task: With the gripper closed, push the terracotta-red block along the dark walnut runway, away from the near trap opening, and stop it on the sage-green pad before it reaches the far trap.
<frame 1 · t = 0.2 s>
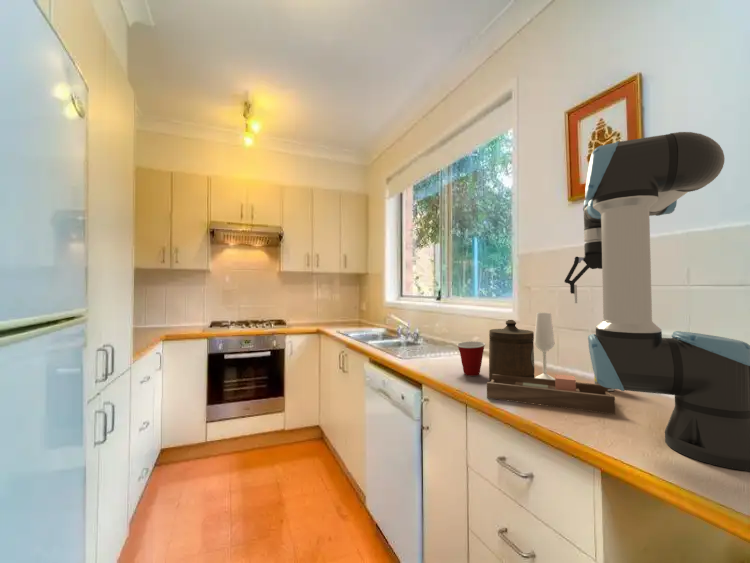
hand: (598, 303, 118), 28 cm above the countertop, tool pointing down, fingers open, 13 cm apart
wooden container: (511, 383, 120), on the countertop
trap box: (546, 399, 102), on the countertop
plastic cup: (471, 374, 133), on the countertop
supplement bottle: (604, 389, 111), on the countertop
block: (565, 391, 100), point 3 cm above the countertop, touching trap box
champagne flute: (544, 379, 125), on the countertop
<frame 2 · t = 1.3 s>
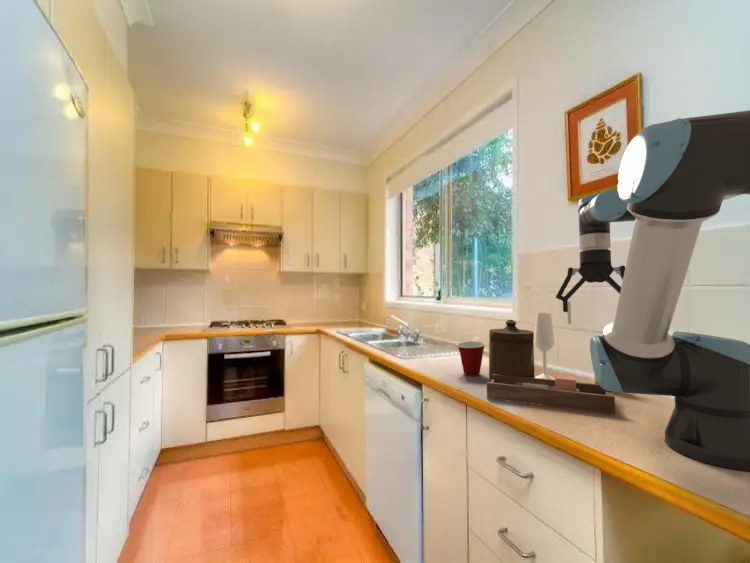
hand: (596, 324, 97), 22 cm above the countertop, tool pointing down, fingers open, 13 cm apart
nothing on the countertop moved.
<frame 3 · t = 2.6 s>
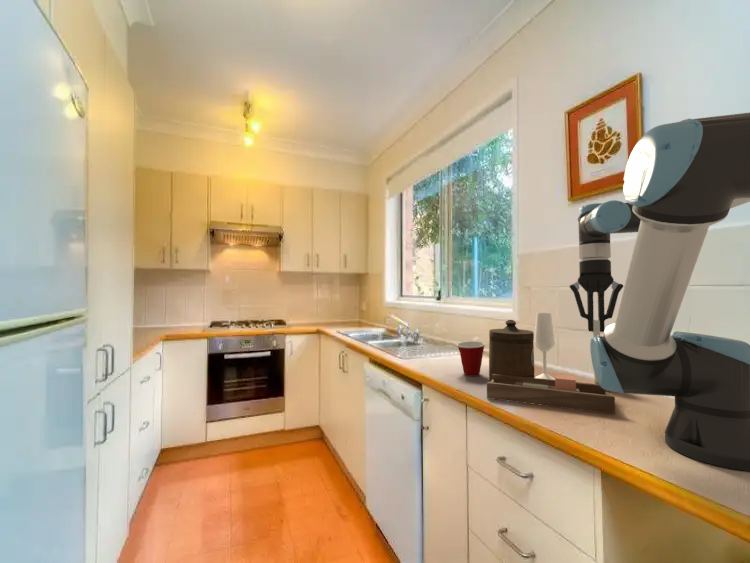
hand: (596, 343, 97), 17 cm above the countertop, tool pointing down, fingers closed
nothing on the countertop moved.
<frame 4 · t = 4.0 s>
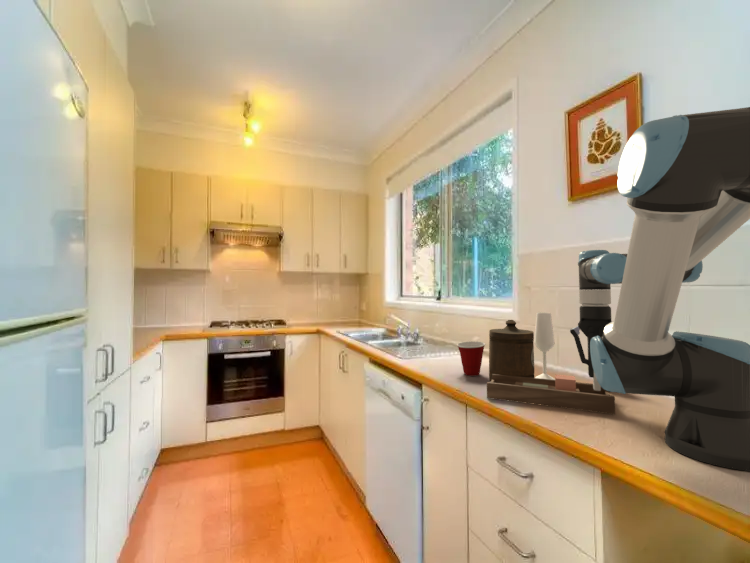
hand: (596, 389, 96), 4 cm above the countertop, tool pointing down, fingers closed
nothing on the countertop moved.
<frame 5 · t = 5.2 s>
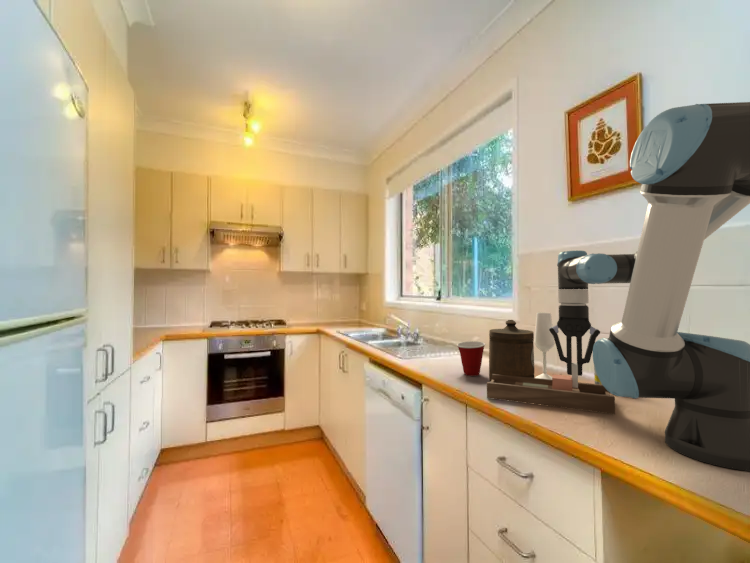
hand: (574, 386, 99), 5 cm above the countertop, tool pointing down, fingers closed
nothing on the countertop moved.
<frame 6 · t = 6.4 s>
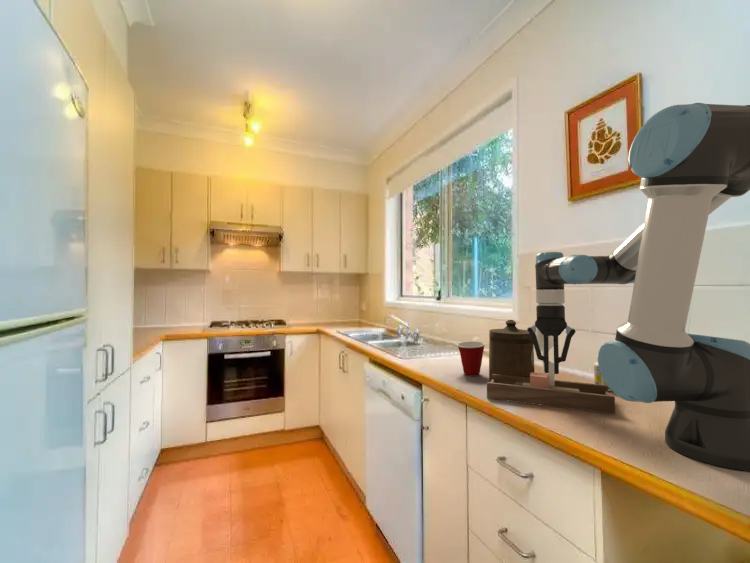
hand: (551, 384, 101), 5 cm above the countertop, tool pointing down, fingers closed
block: (539, 388, 103), point 3 cm above the countertop, touching gripper
everything else where it was.
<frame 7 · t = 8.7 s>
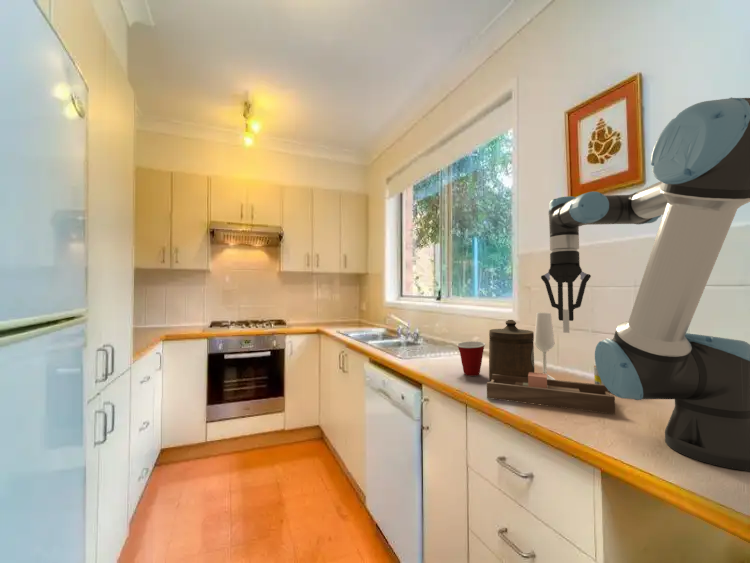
hand: (566, 332, 100), 20 cm above the countertop, tool pointing down, fingers closed
block: (537, 388, 103), point 3 cm above the countertop, touching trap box
everything else where it was.
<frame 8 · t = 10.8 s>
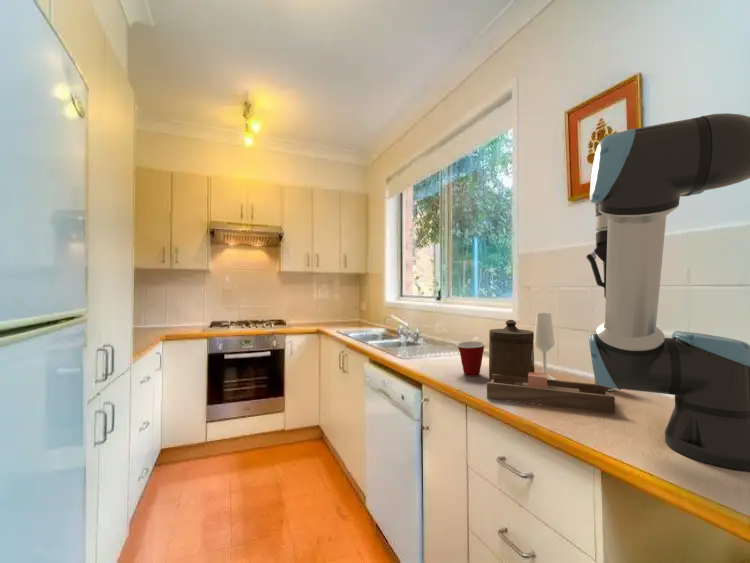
hand: (612, 309, 101), 26 cm above the countertop, tool pointing down, fingers closed
nothing on the countertop moved.
at the end: block 1.3 cm from the target spot, point 3.0 cm above the countertop; block tilted 0° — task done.
